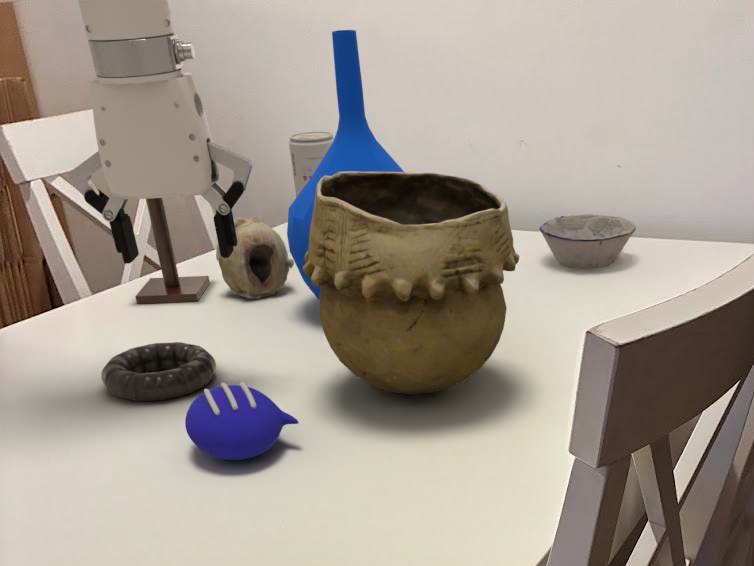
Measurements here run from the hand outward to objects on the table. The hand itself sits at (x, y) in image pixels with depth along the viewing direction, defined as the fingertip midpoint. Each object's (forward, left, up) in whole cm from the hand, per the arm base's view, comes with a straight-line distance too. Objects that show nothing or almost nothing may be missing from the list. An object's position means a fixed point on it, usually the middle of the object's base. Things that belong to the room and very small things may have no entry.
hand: (179, 257), depth 99 cm
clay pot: (+23, -4, -13) cm, 27 cm away
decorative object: (+7, -17, -13) cm, 23 cm away
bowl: (+45, +39, -13) cm, 61 cm away
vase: (+16, +23, -13) cm, 31 cm away
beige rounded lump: (+1, +31, -13) cm, 34 cm away
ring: (-5, 0, -12) cm, 13 cm away
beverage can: (+7, +53, -13) cm, 55 cm away
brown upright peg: (-11, +32, -13) cm, 36 cm away
